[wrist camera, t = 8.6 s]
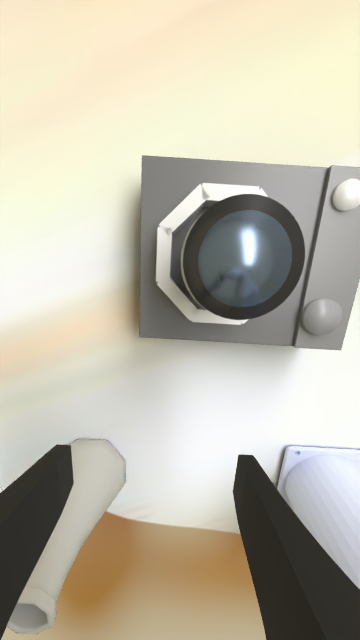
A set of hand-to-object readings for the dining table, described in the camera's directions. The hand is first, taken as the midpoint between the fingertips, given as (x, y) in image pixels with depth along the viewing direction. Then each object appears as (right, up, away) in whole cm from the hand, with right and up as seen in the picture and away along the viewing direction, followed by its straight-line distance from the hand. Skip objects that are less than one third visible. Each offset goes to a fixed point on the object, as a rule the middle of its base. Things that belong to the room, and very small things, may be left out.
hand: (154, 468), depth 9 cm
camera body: (+6, +11, +8) cm, 15 cm away
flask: (-8, -9, +13) cm, 18 cm away
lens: (+3, +10, +5) cm, 12 cm away
